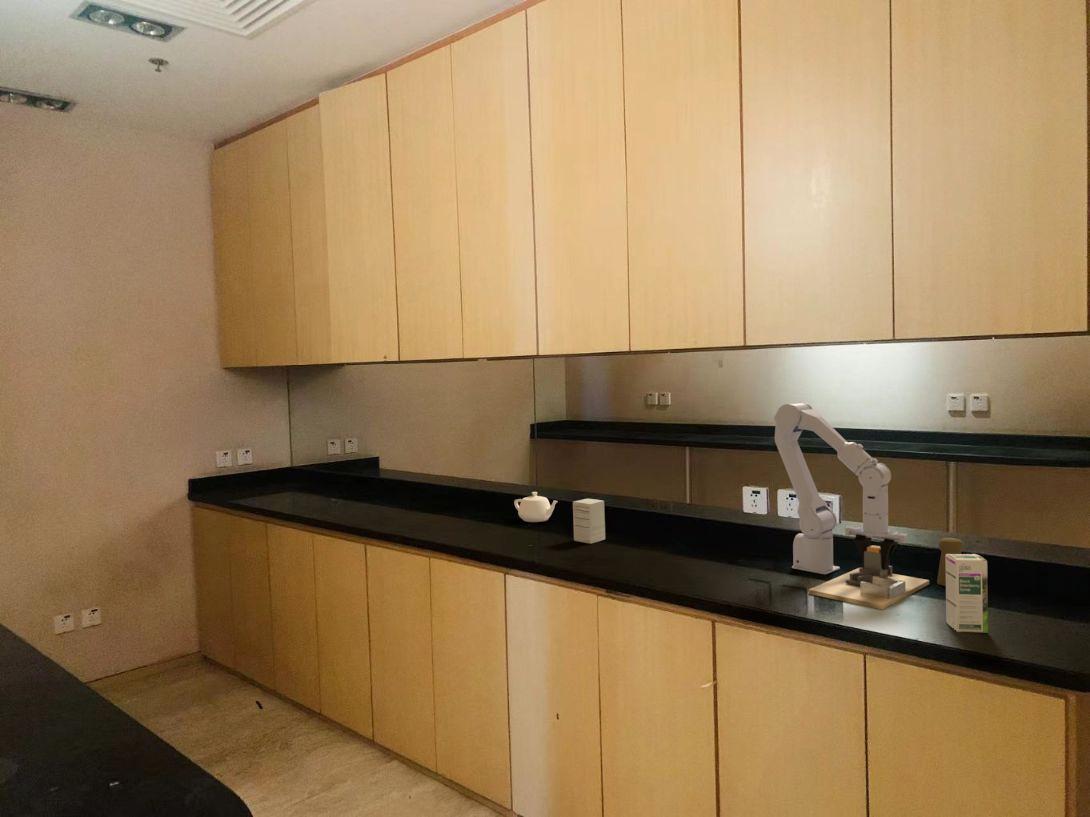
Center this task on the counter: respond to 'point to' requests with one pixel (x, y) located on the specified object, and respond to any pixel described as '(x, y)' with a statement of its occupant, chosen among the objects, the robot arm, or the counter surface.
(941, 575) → the cork
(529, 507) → the teapot
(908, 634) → the counter surface
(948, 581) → the syrup box
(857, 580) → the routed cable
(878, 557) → the grey upright block
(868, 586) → the end holder
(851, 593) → the board
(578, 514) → the supplement box
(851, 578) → the middle clip
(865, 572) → the clip
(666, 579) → the counter surface
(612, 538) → the counter surface
